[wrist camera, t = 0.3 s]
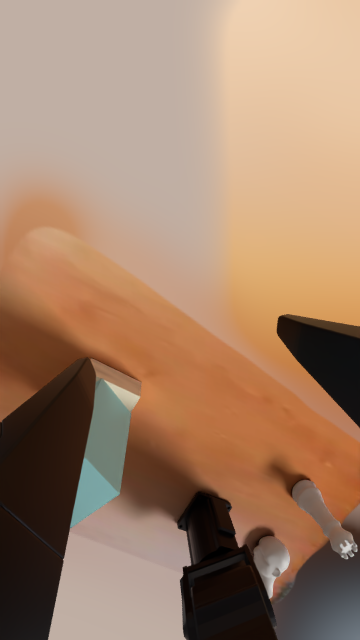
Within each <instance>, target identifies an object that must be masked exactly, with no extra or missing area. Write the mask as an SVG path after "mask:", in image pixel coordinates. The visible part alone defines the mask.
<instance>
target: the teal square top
mask: <svg viewBox="0 0 360 640" xmlns="http://www.w3.org/2000/svg"><path fill="white" fill-rule="evenodd" d="M130 418H131V413H130V411H129V410H128V409H127V408H126V407H125V405H124V404H123V403H122V402H121V400H120V399H119V398H118V397H117V395H116V394H115V393H114V392H113V390H112V389H111V388H110V387H109V386H108V384H107V383H106V382H105V381H104V379H103V378H102V379H100V380H98V381H97V382H96V386H95V399H94V409H93V415H92V420H91V425H90V430H89V435H88V440H87V445H86V450H85V455H84V460H83V465H82V470H81V475H80V480H79V485H78V490H77V495H76V500H75V505H74V510H73V515H72V520H71V525H70V528H71V527H73V526H74V525H76V524H77V523H79V522H80V521H82V520H83V519H84V518H86V517H87V516H89V515H90V514H92V513H93V512H95V511H96V510H98V509H99V508H100V507H102V506H103V505H105V504H106V503H108V502H109V501H111V500H112V499H113V498H115V497H116V496H118V495H119V494H120V489H121V482H122V475H123V468H124V461H125V454H126V447H127V440H128V433H129V426H130Z"/></svg>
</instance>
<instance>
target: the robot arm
mask: <svg viewBox="0 0 360 640" xmlns="http://www.w3.org/2000/svg"><path fill="white" fill-rule="evenodd" d="M277 334H278V336H279V338H280V339H281V340H282V341H283V343H284V344H285V345H286V347H287V348H288V349H289V351H290V352H291V353H292V355H293V356H294V357H295V358H296V360H297V361H298V362H299V363H300V364H301V365H302V366H303V367H304V368H305V369H306V371H307V372H308V373H309V374H310V375H311V376H312V377H313V378H314V379H315V380H316V381H317V382H318V383H319V384H320V385H321V387H322V388H323V389H324V390H325V391H326V392H327V393H328V394H329V395H330V396H331V397H332V398H333V400H334V401H335V402H336V403H337V404H338V405H339V406H340V407H341V408H342V409H343V410H344V411H345V412H346V413H347V414H348V416H349V417H350V418H351V419H352V420H353V421H354V422H355V423H356V424H357V425H358V426H359V428H360V327H359V326H353V325H347V324H342V323H335V322H330V321H324V320H318V319H313V318H306V317H301V316H295V315H289V314H286V315H282V316H279V318H278V323H277ZM95 386H96V372H95V370H94V367H93V365H92V362H91V360H90V359H89V358H88V357H86V358H81V359H78V360H77V361H76V362H74V363H73V364H72V365H71V366H69V367H68V368H67V369H66V370H64V371H63V372H62V373H61V374H59V375H58V376H57V377H56V378H54V379H53V380H52V381H51V382H49V383H48V384H47V385H46V386H44V387H43V388H42V389H41V390H39V391H38V392H37V393H36V394H35V395H33V396H32V397H31V398H30V399H28V400H27V401H26V402H25V403H23V404H22V405H21V406H20V407H18V408H17V409H16V410H15V411H13V412H12V413H11V414H10V415H8V416H7V417H6V418H5V419H3V420H2V423H1V422H0V640H48V637H49V632H50V626H51V621H52V617H53V611H54V607H55V601H56V597H57V592H58V586H59V581H60V576H61V571H62V566H63V559H64V555H65V550H66V545H67V540H68V535H69V530H70V525H71V520H72V515H73V510H74V505H75V500H76V495H77V490H78V485H79V480H80V475H81V470H82V465H83V460H84V455H85V450H86V445H87V440H88V435H89V430H90V425H91V420H92V415H93V409H94V399H95ZM231 508H232V506H231V504H230V503H229V502H226V501H223V500H221V499H218V498H215V497H213V496H210V495H208V494H205V493H202V492H198V493H197V494H196V495H195V497H194V498H193V500H192V501H191V503H190V504H189V506H188V507H187V509H186V510H185V512H184V514H183V515H182V517H181V518H180V520H179V521H178V523H177V526H178V529H181V530H184V531H186V532H187V539H188V545H189V552H190V558H191V566H188V567H187V566H185V567H183V577H182V578H181V580H180V586H181V595H182V611H183V612H182V613H183V614H182V615H183V633H184V637H185V638H186V640H278V639H277V636H276V633H275V631H274V629H275V628H277V624H276V619H275V615H274V612H273V608H272V605H271V602H270V599H269V596H268V593H267V591H266V588H265V585H264V583H263V580H262V578H261V576H260V574H259V571H258V569H257V567H256V565H255V562H254V560H253V558H252V556H251V553H250V551H249V549H248V547H247V544H245V545H243V547H240V548H239V547H238V544H237V541H236V538H235V534H236V533H235V529H234V526H233V524H232V521H231V518H230V515H229V512H230V510H231Z"/></svg>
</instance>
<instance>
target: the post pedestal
mask: <svg viewBox="0 0 360 640" xmlns="http://www.w3.org/2000/svg"><path fill="white" fill-rule="evenodd" d="M90 360H91V362H92V365H93V367H94V370H95V372H96V382H97V381H98V380H100V379H102V378H103V379H104V381H105V382H106V383H107V384H108V386H109V387H110V388H111V389H112V390H113V392H114V393H115V394H116V395H117V397H118V398H119V399H120V400H121V402H122V403H123V404H124V405H125V407H126V408H127V409H128V410H129V411H130V413H131V411H132V410H133V408H134V406H135V405H136V403H137V401H138V400H139V398H140V395H141V382H140V381H138V380H136V379H133V378H131V377H129V376H127V375H125V374H123V373H121V372H119V371H117V370H115V369H113V368H111V367H109V366H107V365H105V364H103V363H101V362H99V361H97V360H94V359H92V358H91V359H90Z"/></svg>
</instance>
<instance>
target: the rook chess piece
mask: <svg viewBox="0 0 360 640" xmlns="http://www.w3.org/2000/svg"><path fill="white" fill-rule="evenodd" d="M292 496H293V499H294V501H295V502H297V505H298V506H299V507H300V508H301V509H302V510H304V511H306V513H308V514H310V515H311V516H312V517H313V519H314V520H315V521H316V522H317V523H318V524H319V525H320V527H321V528H322V530H323V533H324V535H325V536H327V537H328V538H329V539H330V542H331V547H332V549H333V550H334V551H336V552H338V553H339V554H340V555H341V556H342V558H343V557H344V558H345V559H348V556H347V555H346V553H348V554H349V555H350V556H351V557H352V556H354V554H353V553H352V552H351V549H353V550H354V552H357V548H356V547H357V545H356V544H355V542H354V541H353V536H352V534H351V533H350V532H348V531H346V530H344V529H343V528H342V527H341V525H340V522H339V521H337V520H336V519H335V518H334V517H333V516H332V514H331V513H330V511H329V510H328V508H327V507H326V505H325V503H324V500H323V498H322V496H321V492H320V491H319V489H318V488H317V487H316V485H315V484H314V483H313V482H312V481H309V480H301V481H299V482H297V483H296V484H295V485H294V487H293V490H292Z"/></svg>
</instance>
